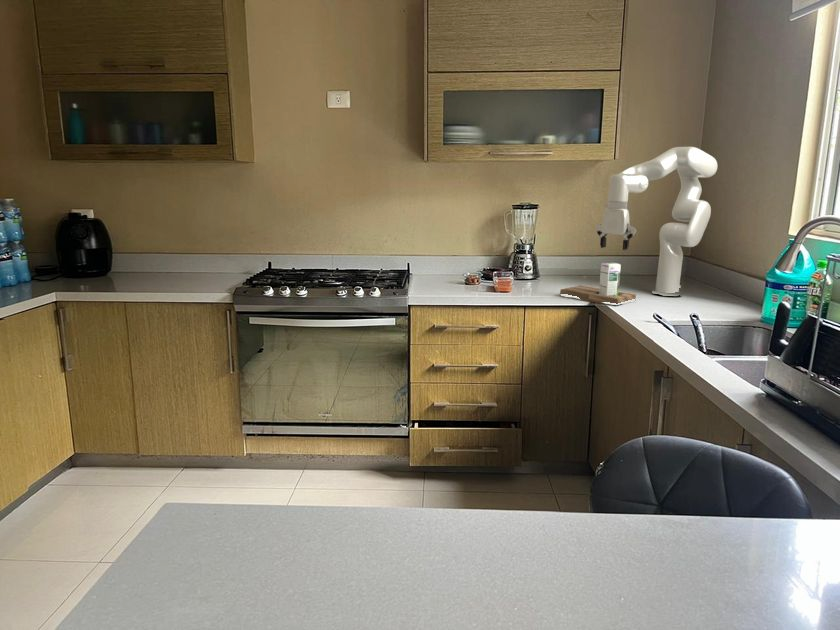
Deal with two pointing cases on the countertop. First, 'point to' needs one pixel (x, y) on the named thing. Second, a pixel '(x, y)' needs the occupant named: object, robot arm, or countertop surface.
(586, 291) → the board
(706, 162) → the robot arm
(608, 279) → the syrup box
